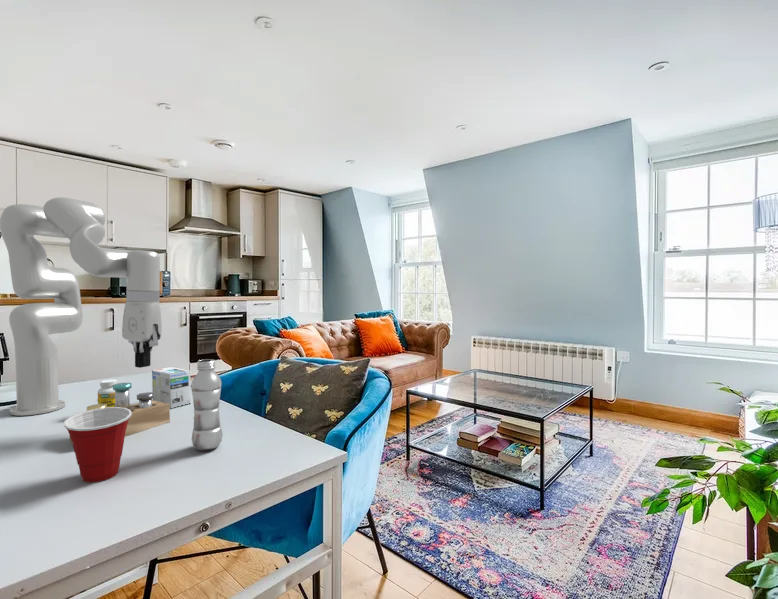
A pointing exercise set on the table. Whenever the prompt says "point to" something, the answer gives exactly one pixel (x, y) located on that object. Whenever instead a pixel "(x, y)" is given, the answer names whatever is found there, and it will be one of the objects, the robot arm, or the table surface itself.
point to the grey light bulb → (145, 399)
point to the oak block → (146, 417)
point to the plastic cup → (98, 441)
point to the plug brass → (96, 406)
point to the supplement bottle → (107, 393)
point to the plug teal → (122, 395)
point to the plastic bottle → (206, 406)
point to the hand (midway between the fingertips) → (142, 366)
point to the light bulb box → (171, 386)
